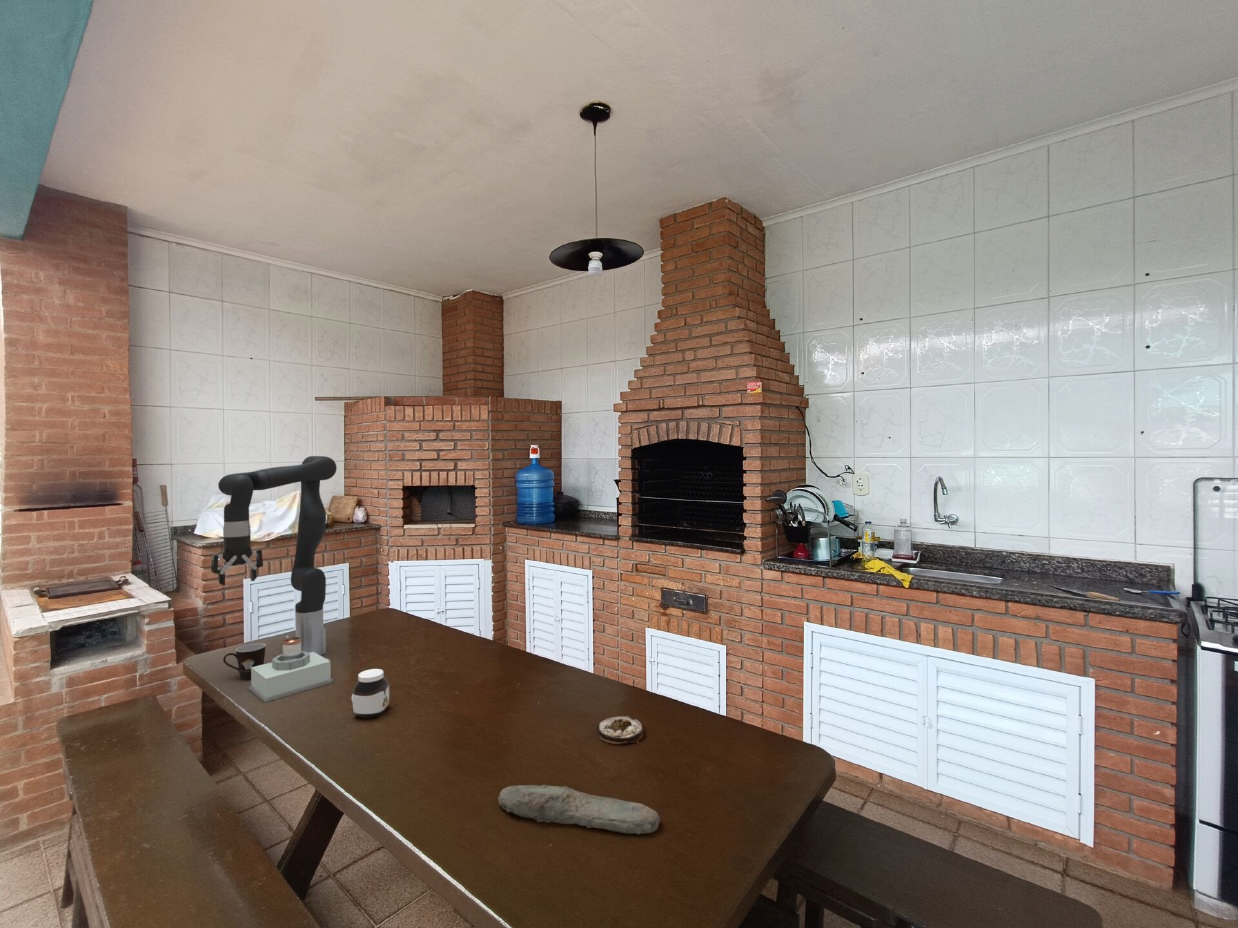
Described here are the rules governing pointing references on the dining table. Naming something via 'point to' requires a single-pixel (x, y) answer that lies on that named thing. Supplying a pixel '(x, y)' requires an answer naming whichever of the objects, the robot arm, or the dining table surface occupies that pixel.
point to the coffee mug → (248, 659)
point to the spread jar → (370, 694)
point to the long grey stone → (578, 808)
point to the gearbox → (289, 676)
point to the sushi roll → (620, 730)
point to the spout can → (291, 648)
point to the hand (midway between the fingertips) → (238, 582)
